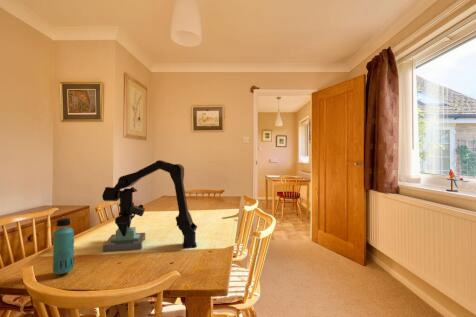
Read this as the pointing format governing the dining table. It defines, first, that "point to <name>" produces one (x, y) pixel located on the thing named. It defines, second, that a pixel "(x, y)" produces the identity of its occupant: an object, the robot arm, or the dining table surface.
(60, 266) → the beverage bottle
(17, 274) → the dining table surface
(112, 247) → the stand
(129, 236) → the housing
